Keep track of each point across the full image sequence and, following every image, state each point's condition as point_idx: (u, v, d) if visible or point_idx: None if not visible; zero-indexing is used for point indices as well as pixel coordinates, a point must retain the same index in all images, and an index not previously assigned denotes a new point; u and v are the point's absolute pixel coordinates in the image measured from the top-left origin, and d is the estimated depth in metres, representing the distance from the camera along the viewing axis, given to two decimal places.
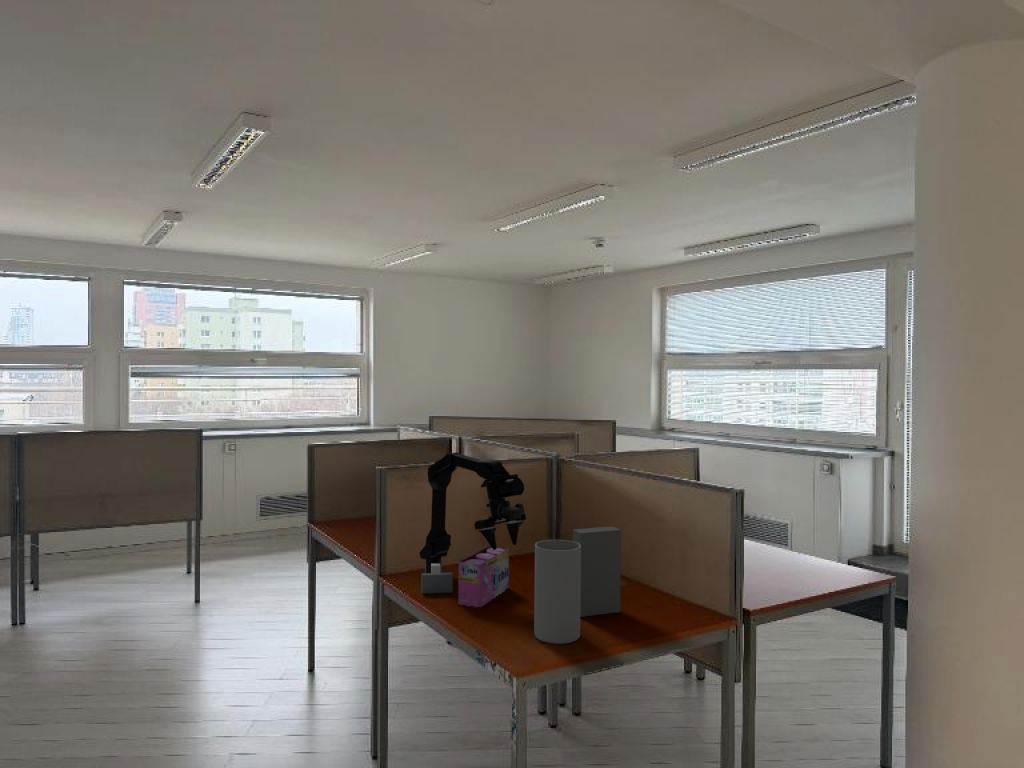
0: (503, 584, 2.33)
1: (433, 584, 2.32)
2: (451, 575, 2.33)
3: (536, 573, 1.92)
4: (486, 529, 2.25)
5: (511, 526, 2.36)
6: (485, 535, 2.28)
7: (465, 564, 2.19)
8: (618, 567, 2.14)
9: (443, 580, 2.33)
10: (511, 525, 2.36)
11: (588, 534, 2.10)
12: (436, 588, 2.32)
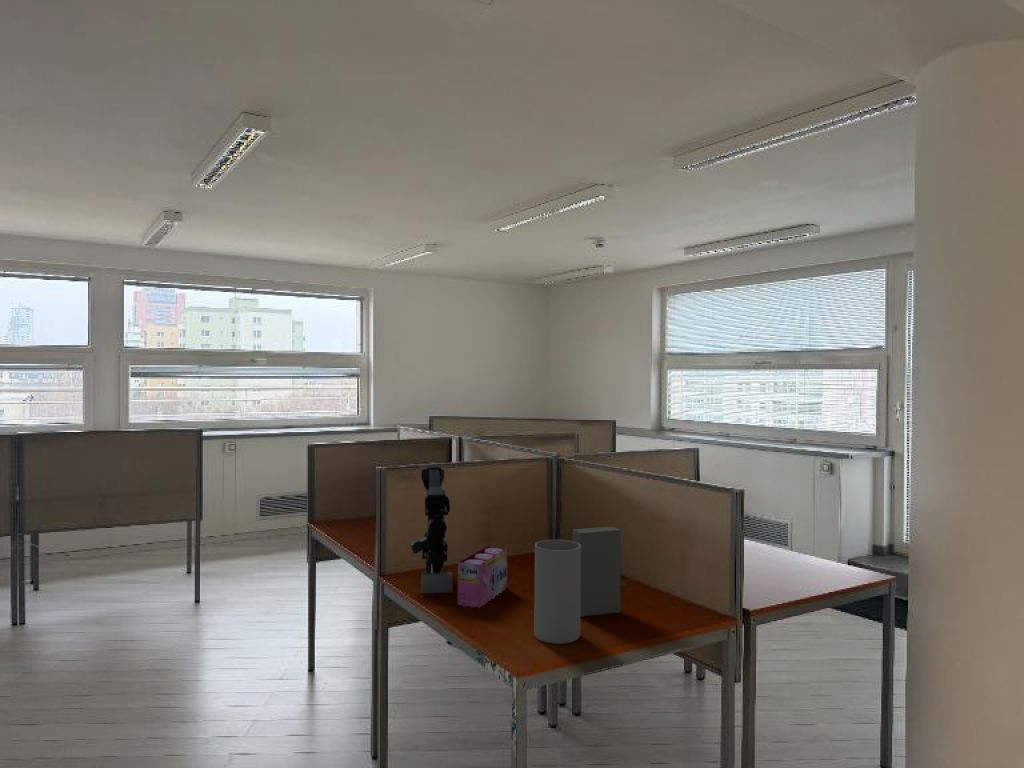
0: (501, 584, 2.33)
1: (433, 584, 2.32)
2: (451, 575, 2.33)
3: (536, 573, 1.92)
4: None
5: None
6: None
7: (464, 564, 2.19)
8: (618, 567, 2.14)
9: (443, 580, 2.33)
10: None
11: (588, 534, 2.10)
12: (436, 588, 2.32)
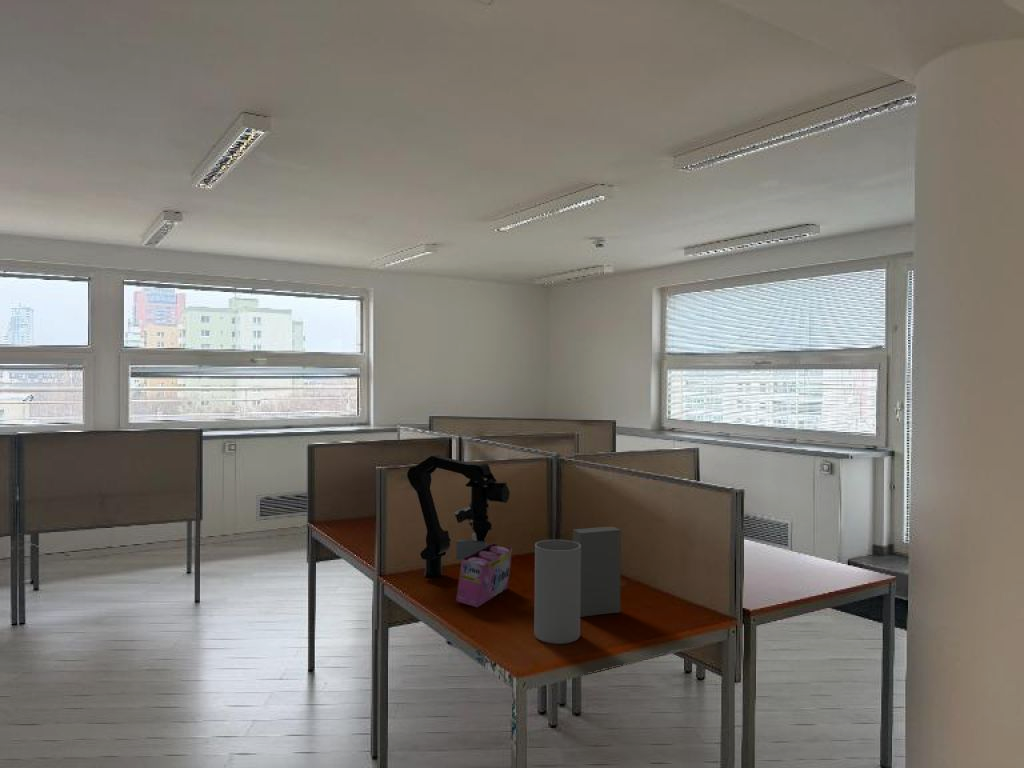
0: (502, 584, 2.33)
1: (467, 551, 2.37)
2: (484, 543, 2.36)
3: (536, 573, 1.92)
4: None
5: None
6: None
7: (468, 562, 2.19)
8: (618, 567, 2.14)
9: (476, 548, 2.36)
10: None
11: (588, 534, 2.10)
12: None
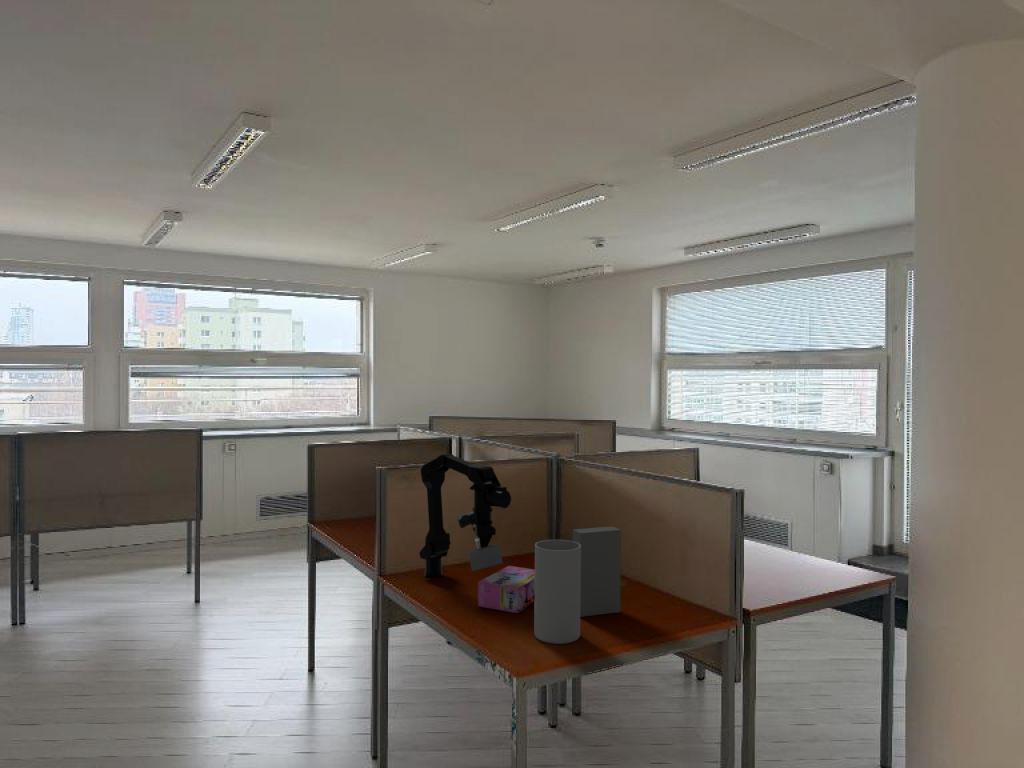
0: None
1: (482, 559, 2.28)
2: (498, 547, 2.29)
3: (536, 573, 1.92)
4: None
5: None
6: None
7: (516, 596, 2.12)
8: (618, 567, 2.14)
9: (491, 553, 2.29)
10: None
11: (588, 534, 2.10)
12: (486, 562, 2.29)
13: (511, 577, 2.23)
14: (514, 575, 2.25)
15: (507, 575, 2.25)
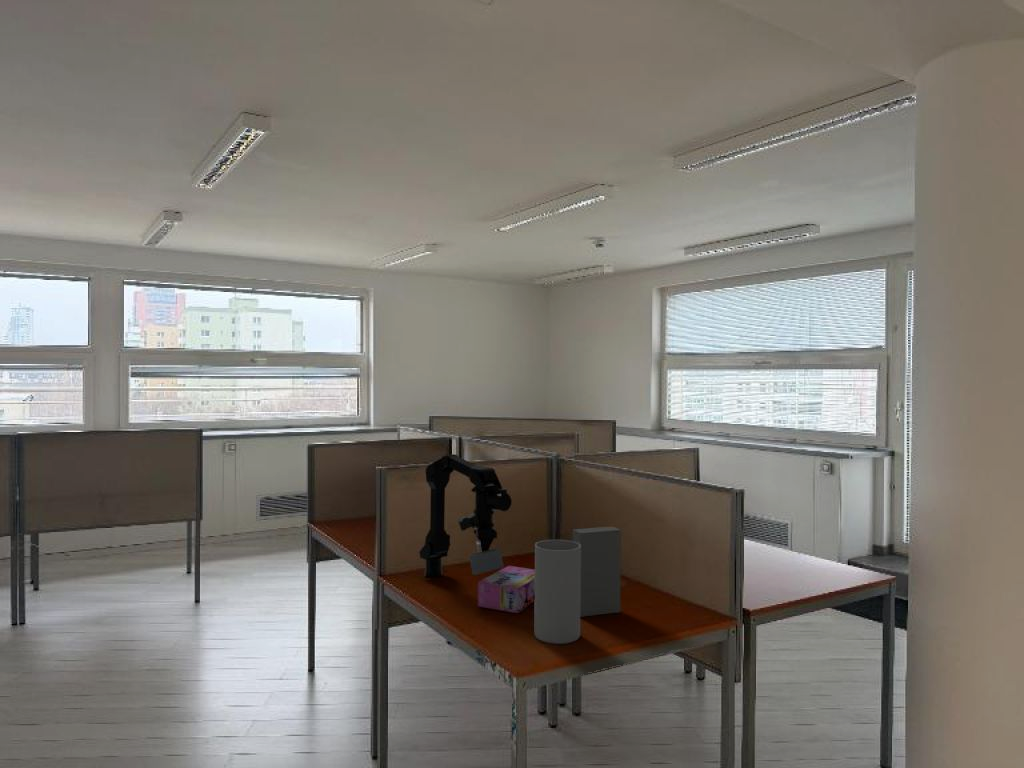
0: None
1: (483, 563, 2.25)
2: (499, 551, 2.25)
3: (536, 573, 1.92)
4: None
5: None
6: None
7: (516, 596, 2.12)
8: (618, 567, 2.14)
9: (492, 557, 2.25)
10: None
11: (588, 534, 2.10)
12: (487, 566, 2.25)
13: (511, 577, 2.23)
14: (514, 575, 2.25)
15: (507, 575, 2.25)
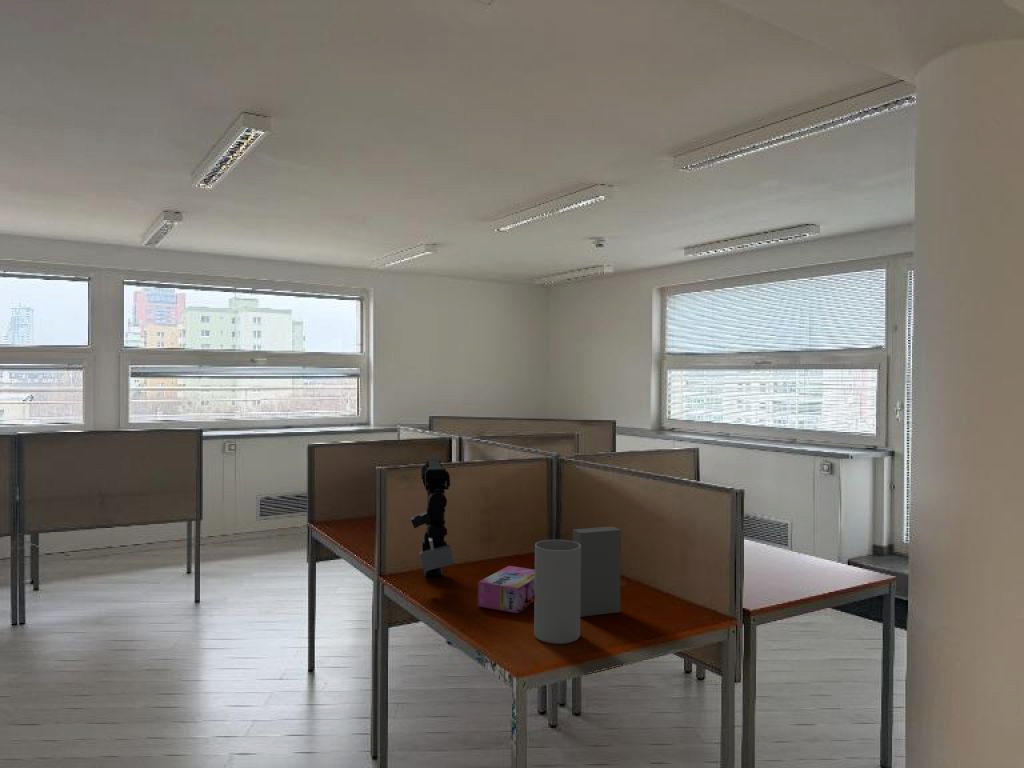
0: None
1: (433, 560, 2.32)
2: (449, 548, 2.33)
3: (536, 573, 1.92)
4: None
5: None
6: None
7: (516, 596, 2.12)
8: (618, 567, 2.14)
9: (442, 554, 2.33)
10: None
11: (588, 534, 2.10)
12: (437, 563, 2.33)
13: (511, 577, 2.23)
14: (514, 575, 2.25)
15: (507, 575, 2.25)
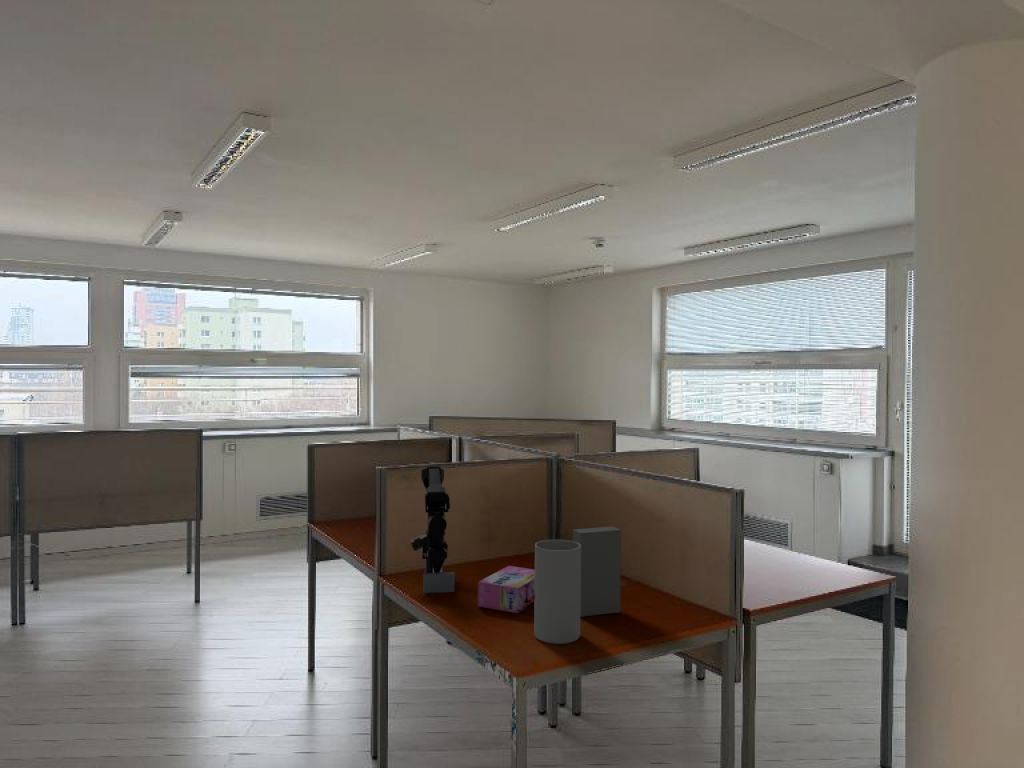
0: None
1: (435, 584, 2.33)
2: (453, 575, 2.34)
3: (536, 573, 1.92)
4: None
5: None
6: None
7: (516, 596, 2.12)
8: (618, 567, 2.14)
9: (445, 580, 2.33)
10: None
11: (588, 534, 2.10)
12: (438, 587, 2.33)
13: (511, 577, 2.23)
14: (514, 575, 2.25)
15: (507, 575, 2.25)
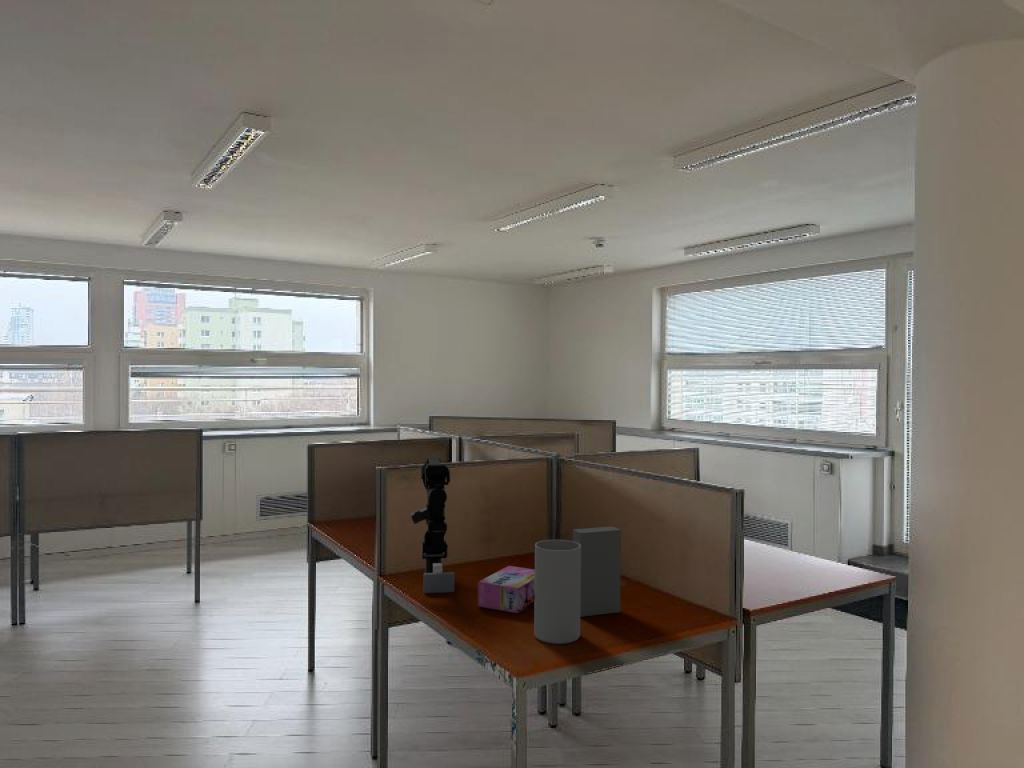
0: None
1: (435, 584, 2.33)
2: (453, 575, 2.34)
3: (536, 573, 1.92)
4: None
5: None
6: None
7: (516, 596, 2.12)
8: (618, 567, 2.14)
9: (445, 580, 2.33)
10: None
11: (588, 534, 2.10)
12: (438, 587, 2.33)
13: (511, 577, 2.23)
14: (514, 575, 2.25)
15: (507, 575, 2.25)
